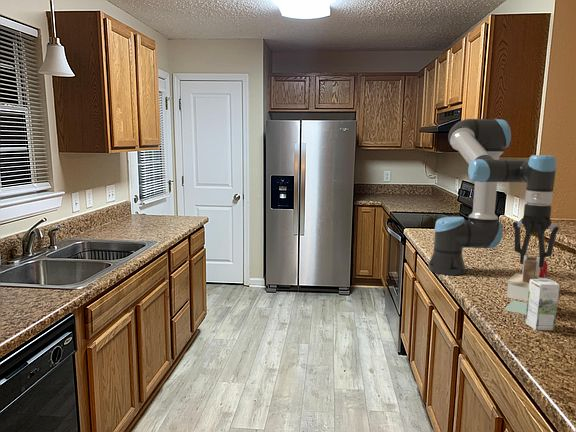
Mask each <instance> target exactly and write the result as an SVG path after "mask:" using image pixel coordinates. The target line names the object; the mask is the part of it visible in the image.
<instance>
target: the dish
mask: <svg viewBox="0 0 576 432" xmlns="http://www.w3.org/2000/svg"><path fill="white" fill-rule="evenodd" d="M528 291H529V288H524V287H519V286H514V285H509V284H507V291H506V297H507V298H511V299H513V300H514V299H515V300H520V301H524V302H527V300H528Z"/></svg>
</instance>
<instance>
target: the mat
mask: <svg viewBox="0 0 576 432" xmlns="http://www.w3.org/2000/svg"><path fill="white" fill-rule="evenodd" d="M503 310H504V311H509V312H513V313H517V314H520V315H525V316H526V310H527V302H522V301H518V300H514V299H513V300H511V301H510V303H508V304H507V305H506V306H505V308H503Z"/></svg>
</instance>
